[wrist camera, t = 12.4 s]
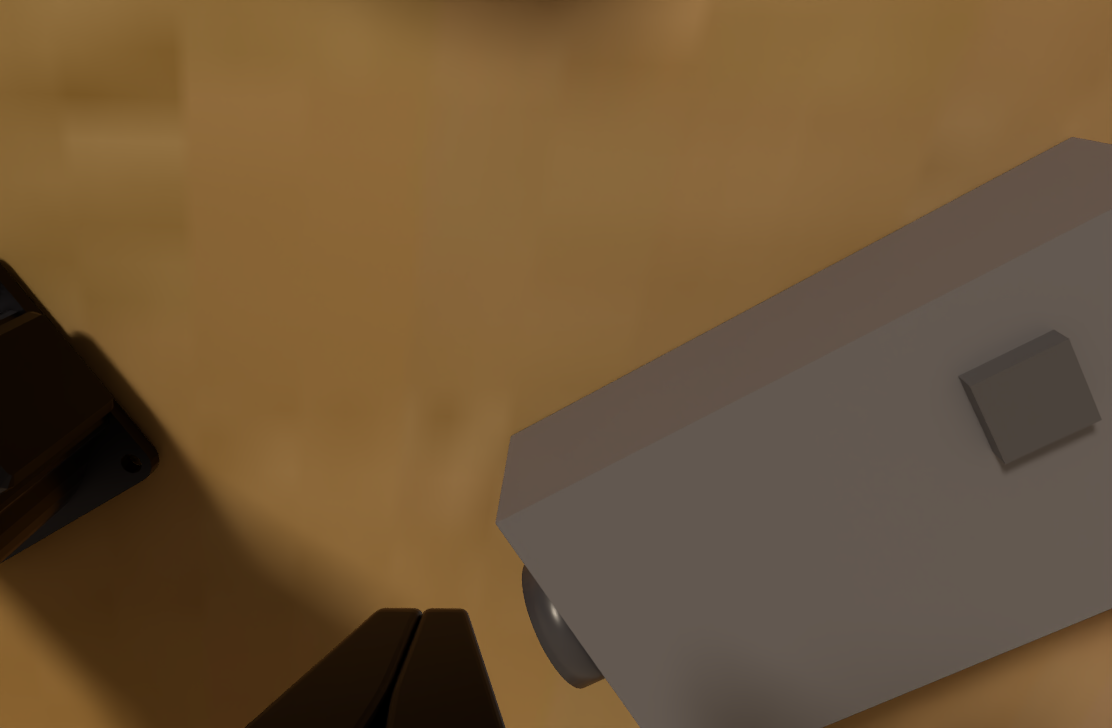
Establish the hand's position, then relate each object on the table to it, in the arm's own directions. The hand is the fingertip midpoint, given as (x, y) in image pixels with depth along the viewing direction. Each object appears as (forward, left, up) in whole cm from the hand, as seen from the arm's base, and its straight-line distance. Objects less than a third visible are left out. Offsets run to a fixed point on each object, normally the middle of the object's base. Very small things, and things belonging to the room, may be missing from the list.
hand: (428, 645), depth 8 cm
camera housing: (+5, -7, -12) cm, 15 cm away
